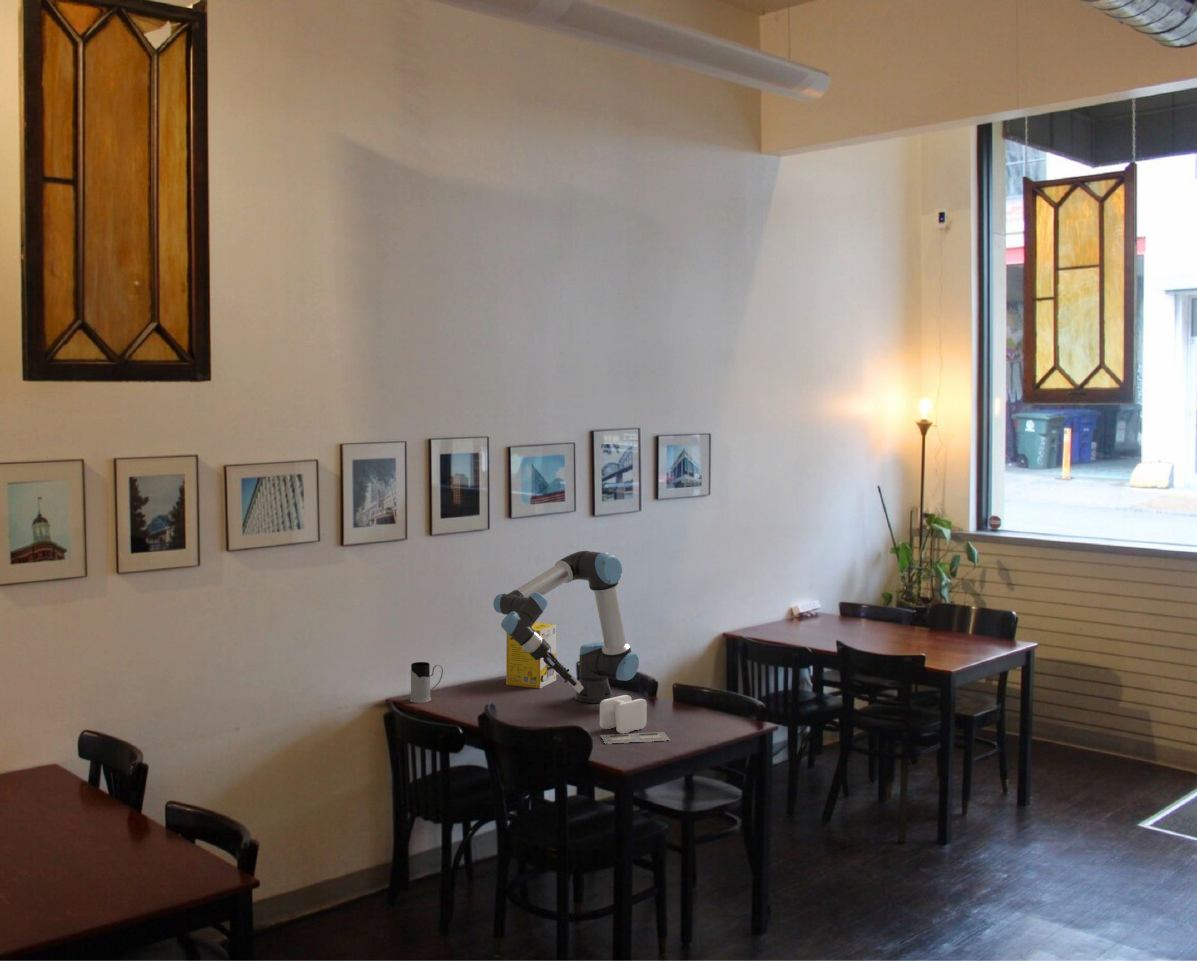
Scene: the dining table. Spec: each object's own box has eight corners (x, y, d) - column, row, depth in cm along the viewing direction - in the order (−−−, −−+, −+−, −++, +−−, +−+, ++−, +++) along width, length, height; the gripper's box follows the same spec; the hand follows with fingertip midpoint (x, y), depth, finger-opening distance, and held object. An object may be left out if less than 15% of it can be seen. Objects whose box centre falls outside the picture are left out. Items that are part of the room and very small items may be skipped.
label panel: (600, 736, 416) (600, 733, 416) (663, 733, 421) (663, 730, 421) (605, 744, 407) (605, 741, 407) (670, 741, 411) (670, 738, 411)
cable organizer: (617, 736, 417) (617, 705, 416) (598, 730, 425) (598, 699, 424) (646, 729, 427) (647, 698, 426) (627, 723, 435) (627, 693, 434)
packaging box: (523, 676, 508) (523, 621, 506) (556, 680, 502) (556, 624, 500) (506, 684, 493) (506, 627, 491) (539, 688, 487) (540, 630, 485)
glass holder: (406, 699, 469) (406, 663, 468) (438, 694, 476) (438, 659, 475) (414, 703, 461) (414, 667, 460) (447, 699, 468) (446, 663, 467)
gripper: (525, 648, 426) (569, 689, 430) (531, 659, 408) (576, 702, 412) (540, 633, 427) (582, 675, 431) (546, 644, 409) (591, 687, 413)
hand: (579, 688), depth 422 cm, fingers open, 5 cm apart
